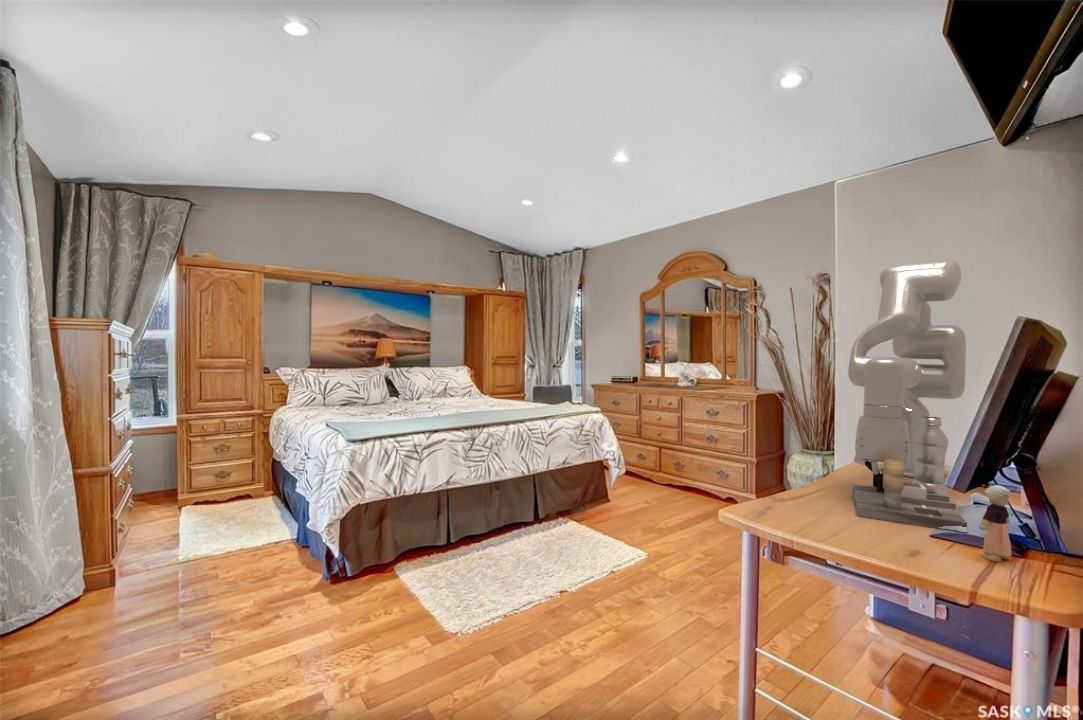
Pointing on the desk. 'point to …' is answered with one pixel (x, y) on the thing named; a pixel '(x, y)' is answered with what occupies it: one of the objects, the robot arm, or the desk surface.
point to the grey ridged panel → (907, 509)
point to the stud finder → (914, 491)
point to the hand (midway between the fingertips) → (880, 490)
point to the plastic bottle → (930, 456)
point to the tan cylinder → (893, 482)
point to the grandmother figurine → (996, 525)
